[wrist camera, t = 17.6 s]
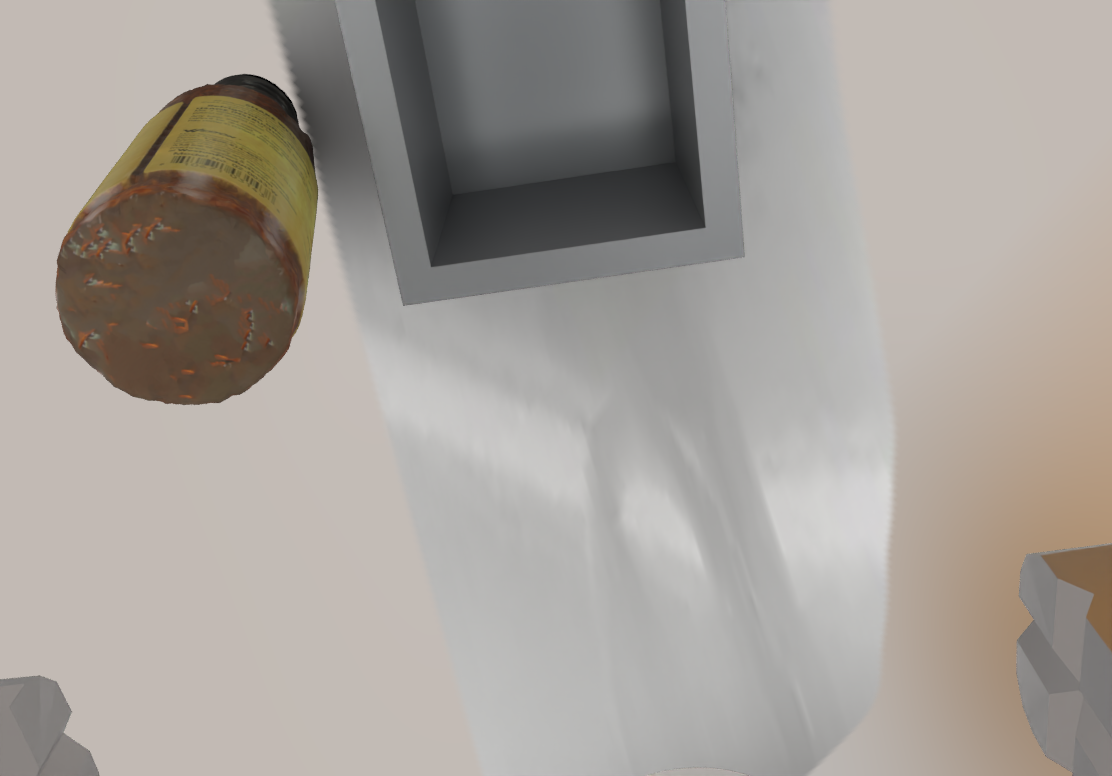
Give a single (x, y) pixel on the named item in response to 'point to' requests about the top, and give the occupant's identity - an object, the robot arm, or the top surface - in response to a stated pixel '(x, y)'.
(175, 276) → the sauce bottle
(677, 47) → the bin
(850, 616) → the top surface
